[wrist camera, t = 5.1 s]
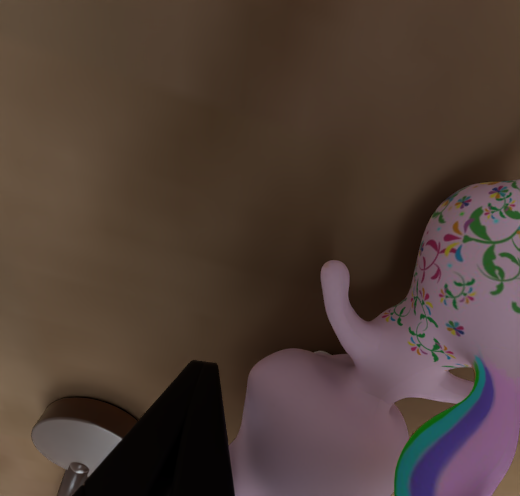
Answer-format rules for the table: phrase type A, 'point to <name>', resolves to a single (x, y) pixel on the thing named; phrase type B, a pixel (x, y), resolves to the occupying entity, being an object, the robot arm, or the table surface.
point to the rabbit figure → (401, 374)
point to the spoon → (79, 437)
